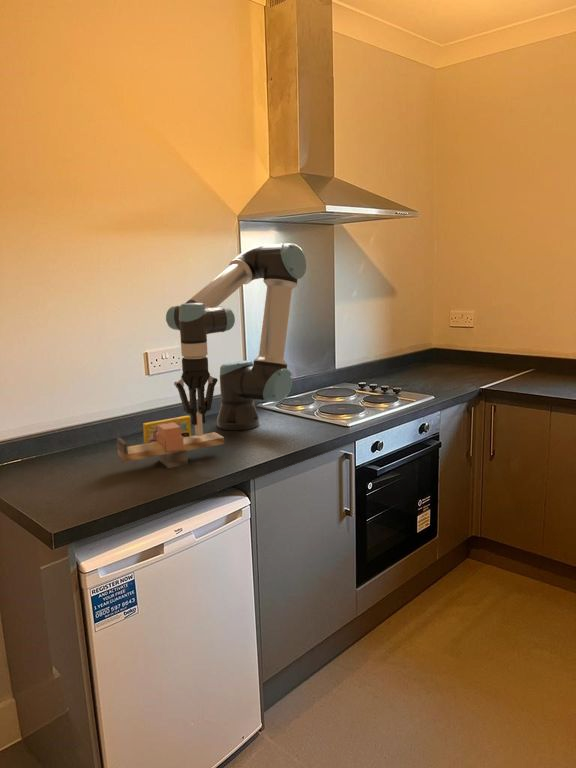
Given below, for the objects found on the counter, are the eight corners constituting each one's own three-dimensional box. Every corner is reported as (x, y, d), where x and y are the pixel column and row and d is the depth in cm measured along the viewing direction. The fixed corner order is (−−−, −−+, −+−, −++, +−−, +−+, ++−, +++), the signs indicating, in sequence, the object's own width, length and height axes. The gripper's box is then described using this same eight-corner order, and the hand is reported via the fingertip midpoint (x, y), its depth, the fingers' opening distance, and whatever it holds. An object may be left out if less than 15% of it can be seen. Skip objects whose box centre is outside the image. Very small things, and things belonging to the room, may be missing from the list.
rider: (173, 441, 178) (172, 421, 177) (183, 448, 171) (182, 428, 169) (157, 444, 176) (155, 423, 175) (167, 451, 168) (165, 430, 167)
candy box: (146, 449, 187) (144, 424, 186) (143, 448, 189) (141, 423, 187) (192, 440, 197) (190, 415, 195) (188, 438, 199) (187, 414, 197)
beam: (215, 450, 185) (213, 422, 183) (225, 457, 178) (224, 428, 177) (118, 467, 170) (116, 437, 169) (126, 476, 164) (123, 444, 162)
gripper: (210, 353, 179) (214, 428, 184) (168, 357, 173) (173, 435, 177) (220, 356, 172) (224, 434, 177) (177, 360, 166) (182, 441, 171)
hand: (199, 434), depth 177 cm, fingers closed
